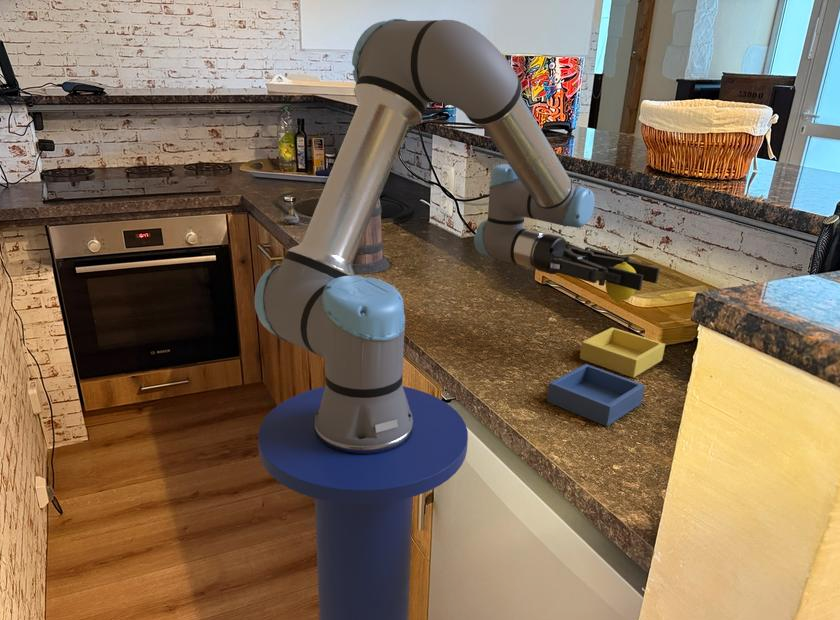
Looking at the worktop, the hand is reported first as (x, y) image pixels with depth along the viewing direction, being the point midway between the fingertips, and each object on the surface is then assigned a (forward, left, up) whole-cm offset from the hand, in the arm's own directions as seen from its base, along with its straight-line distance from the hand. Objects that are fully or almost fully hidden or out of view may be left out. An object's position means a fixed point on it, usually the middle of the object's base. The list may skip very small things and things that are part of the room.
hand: (649, 279), depth 122 cm
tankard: (-88, +7, -18) cm, 90 cm away
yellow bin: (-4, +2, -18) cm, 19 cm away
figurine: (-135, +19, -18) cm, 137 cm away
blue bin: (+2, -18, -18) cm, 25 cm away
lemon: (-5, 0, -6) cm, 8 cm away
